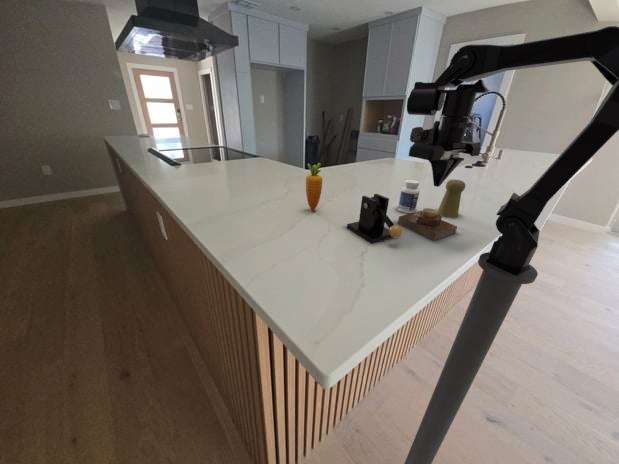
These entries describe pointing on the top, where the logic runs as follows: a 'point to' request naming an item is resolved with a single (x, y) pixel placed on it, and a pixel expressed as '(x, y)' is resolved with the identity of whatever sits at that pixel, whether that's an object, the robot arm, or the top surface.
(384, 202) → the bracket
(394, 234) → the ball knob lever
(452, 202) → the cork
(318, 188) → the carrot
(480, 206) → the top surface
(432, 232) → the switch block
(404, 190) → the pill bottle
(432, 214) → the button
